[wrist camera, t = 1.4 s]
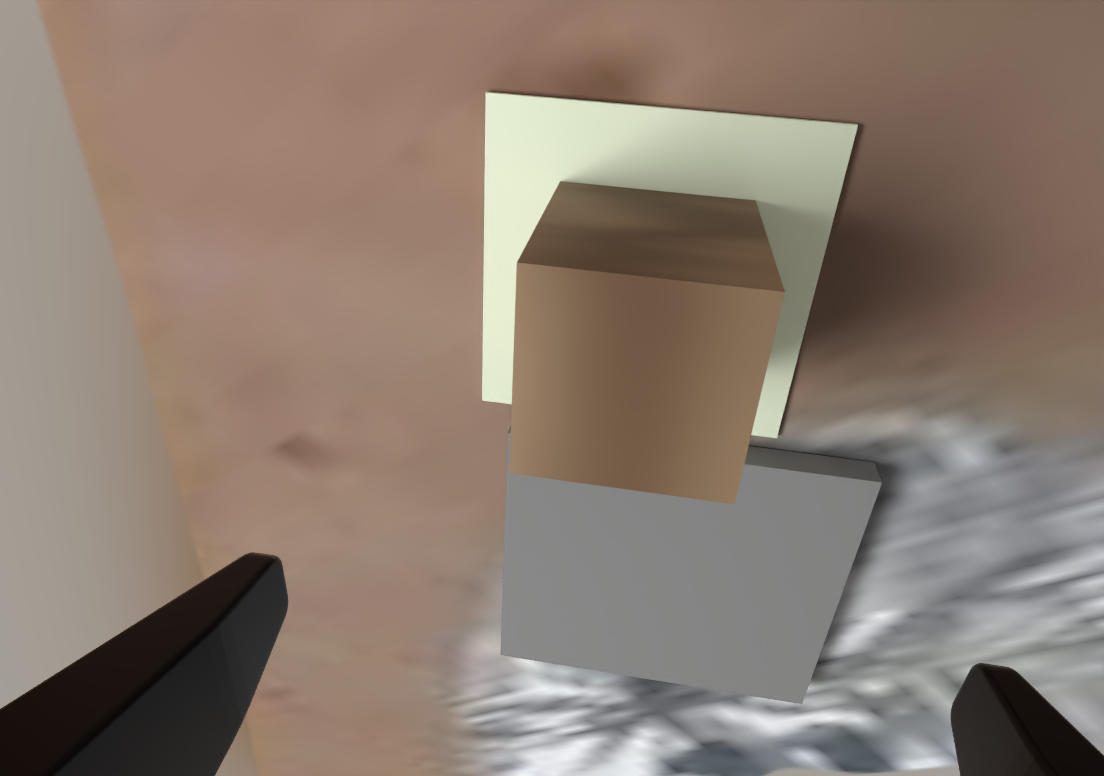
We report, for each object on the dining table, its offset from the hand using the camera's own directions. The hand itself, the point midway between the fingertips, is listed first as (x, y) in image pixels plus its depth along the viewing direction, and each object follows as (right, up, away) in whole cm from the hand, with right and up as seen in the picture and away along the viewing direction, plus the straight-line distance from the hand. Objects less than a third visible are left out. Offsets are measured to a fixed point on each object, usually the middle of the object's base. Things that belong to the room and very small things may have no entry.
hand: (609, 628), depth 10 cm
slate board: (+3, -3, +16) cm, 16 cm away
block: (+2, +6, +10) cm, 12 cm away
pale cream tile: (+2, +6, +11) cm, 12 cm away
